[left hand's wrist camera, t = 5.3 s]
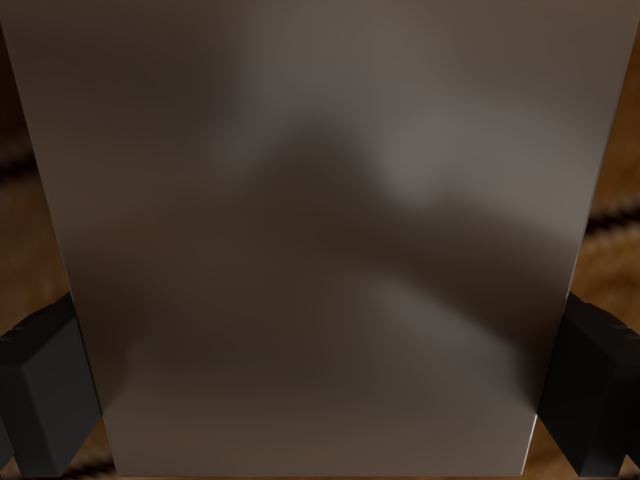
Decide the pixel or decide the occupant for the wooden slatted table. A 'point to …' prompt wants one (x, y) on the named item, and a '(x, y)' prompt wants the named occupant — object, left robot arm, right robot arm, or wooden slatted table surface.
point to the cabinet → (319, 219)
